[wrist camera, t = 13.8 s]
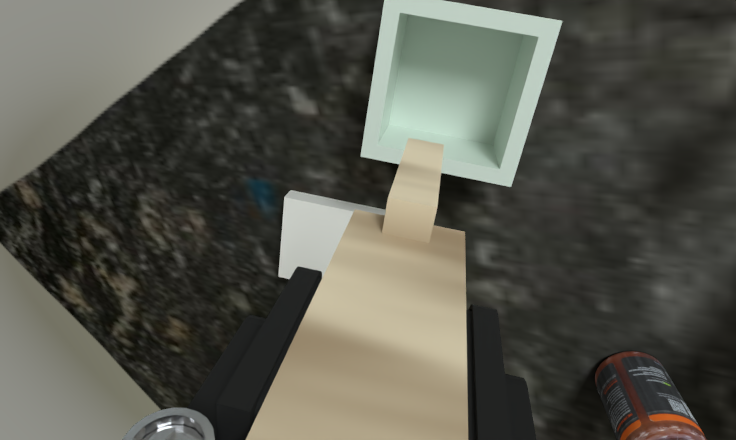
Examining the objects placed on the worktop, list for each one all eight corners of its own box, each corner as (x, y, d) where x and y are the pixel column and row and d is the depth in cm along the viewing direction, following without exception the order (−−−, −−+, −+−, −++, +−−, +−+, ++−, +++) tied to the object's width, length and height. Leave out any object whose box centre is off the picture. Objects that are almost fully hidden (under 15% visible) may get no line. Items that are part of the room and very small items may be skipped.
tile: (385, 300, 42) (278, 276, 43) (388, 288, 44) (285, 265, 45) (400, 221, 38) (284, 197, 39) (403, 211, 40) (292, 188, 41)
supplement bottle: (593, 399, 45) (634, 515, 34) (591, 349, 42) (635, 458, 32) (663, 397, 43) (727, 517, 33) (665, 345, 41) (734, 457, 31)
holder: (501, 155, 36) (511, 186, 30) (376, 131, 37) (360, 156, 31) (541, 18, 32) (562, 20, 26) (398, -7, 33) (385, -10, 27)
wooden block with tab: (439, 273, 18) (392, 925, 5) (362, 257, 18) (152, 840, 6) (471, 149, 15) (511, 795, 3) (382, 132, 16) (97, 665, 3)
